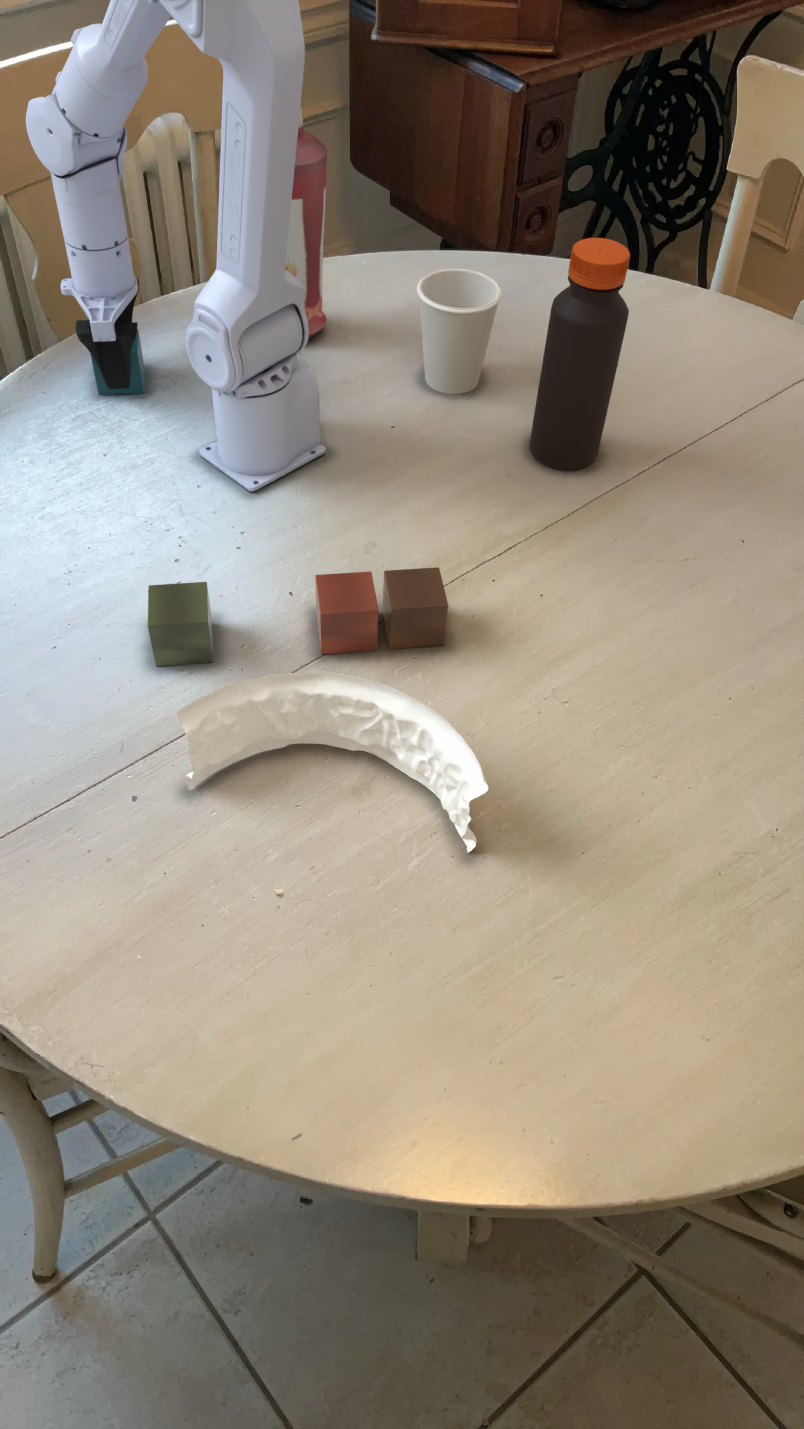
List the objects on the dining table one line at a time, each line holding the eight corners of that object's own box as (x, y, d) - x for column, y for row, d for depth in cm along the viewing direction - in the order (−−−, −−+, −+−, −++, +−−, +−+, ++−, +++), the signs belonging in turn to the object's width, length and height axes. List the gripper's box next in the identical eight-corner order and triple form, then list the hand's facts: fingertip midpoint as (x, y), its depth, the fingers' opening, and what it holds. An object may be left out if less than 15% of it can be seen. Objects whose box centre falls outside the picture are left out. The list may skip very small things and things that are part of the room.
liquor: (342, 330, 116) (342, 43, 95) (295, 355, 112) (284, 62, 91) (295, 306, 119) (285, 22, 98) (247, 329, 115) (226, 39, 94)
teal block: (144, 368, 109) (138, 328, 106) (144, 393, 107) (137, 352, 103) (100, 370, 109) (92, 330, 105) (98, 395, 106) (90, 354, 103)
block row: (435, 607, 88) (439, 566, 85) (444, 645, 85) (448, 605, 82) (156, 626, 85) (148, 584, 82) (155, 666, 82) (147, 625, 79)
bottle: (519, 460, 102) (550, 259, 87) (540, 424, 106) (573, 225, 91) (587, 479, 100) (631, 277, 85) (605, 441, 105) (650, 242, 89)
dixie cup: (449, 348, 114) (456, 259, 107) (507, 380, 111) (519, 290, 103) (395, 377, 110) (399, 286, 103) (454, 411, 107) (462, 319, 99)
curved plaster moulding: (481, 856, 72) (489, 776, 66) (186, 884, 70) (168, 804, 64) (454, 735, 80) (460, 654, 74) (189, 758, 78) (173, 677, 72)
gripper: (56, 201, 100) (83, 333, 111) (44, 276, 91) (75, 412, 101) (131, 200, 101) (151, 330, 112) (127, 274, 92) (149, 408, 102)
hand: (119, 369), depth 107 cm, fingers open, 6 cm apart
